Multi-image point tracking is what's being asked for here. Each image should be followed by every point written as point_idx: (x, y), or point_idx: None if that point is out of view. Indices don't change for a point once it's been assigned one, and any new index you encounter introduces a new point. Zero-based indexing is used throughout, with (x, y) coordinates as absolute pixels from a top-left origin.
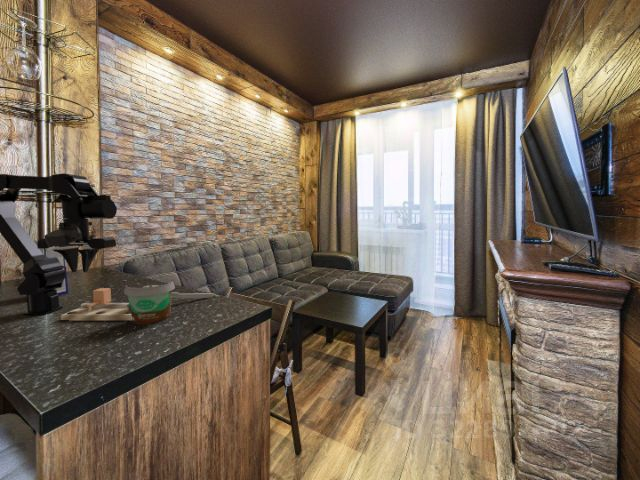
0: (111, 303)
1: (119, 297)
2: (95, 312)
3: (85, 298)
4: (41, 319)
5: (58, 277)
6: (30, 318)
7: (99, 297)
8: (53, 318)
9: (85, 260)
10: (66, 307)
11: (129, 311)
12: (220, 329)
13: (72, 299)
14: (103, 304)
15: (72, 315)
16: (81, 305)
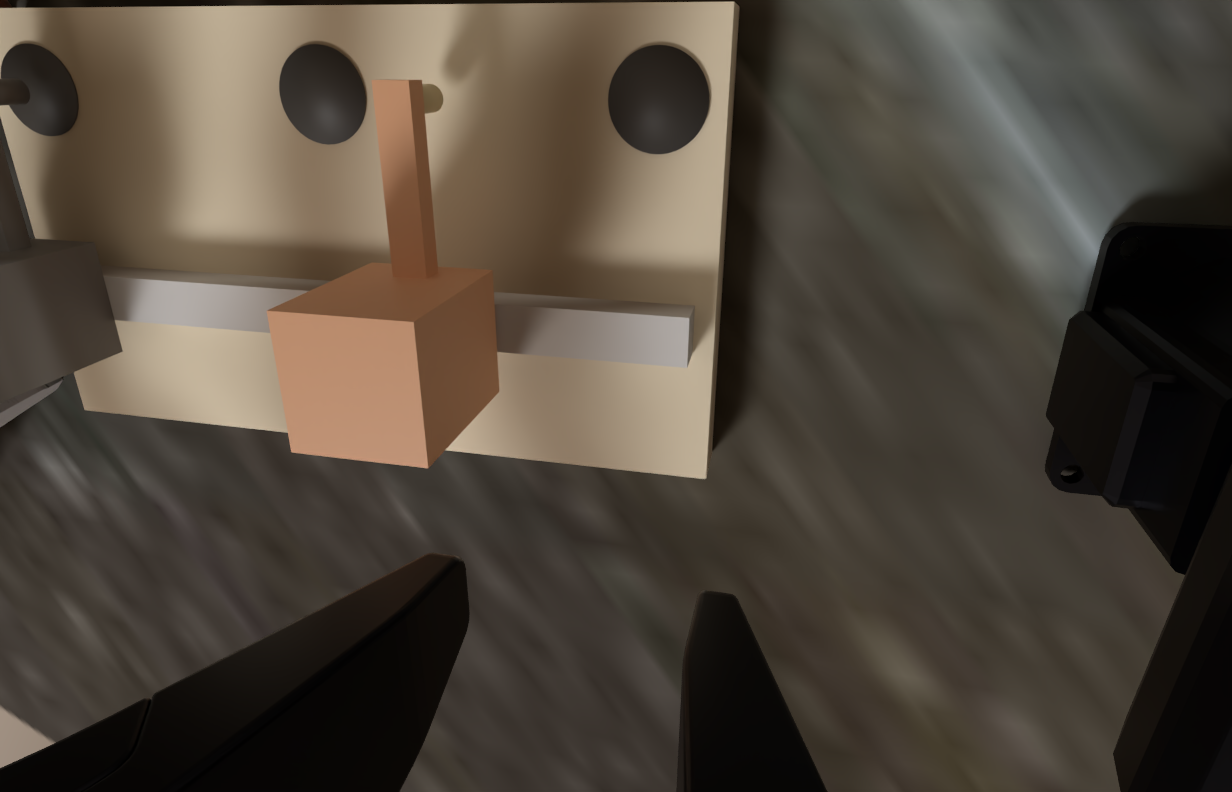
0: None
1: (648, 742)
2: None
3: (1001, 778)
4: (1037, 56)
5: (1176, 662)
6: (1227, 100)
7: (378, 288)
8: (899, 93)
9: (101, 723)
10: (1017, 496)
11: (67, 125)
12: None
13: None
14: None
15: (586, 3)
16: (684, 314)
